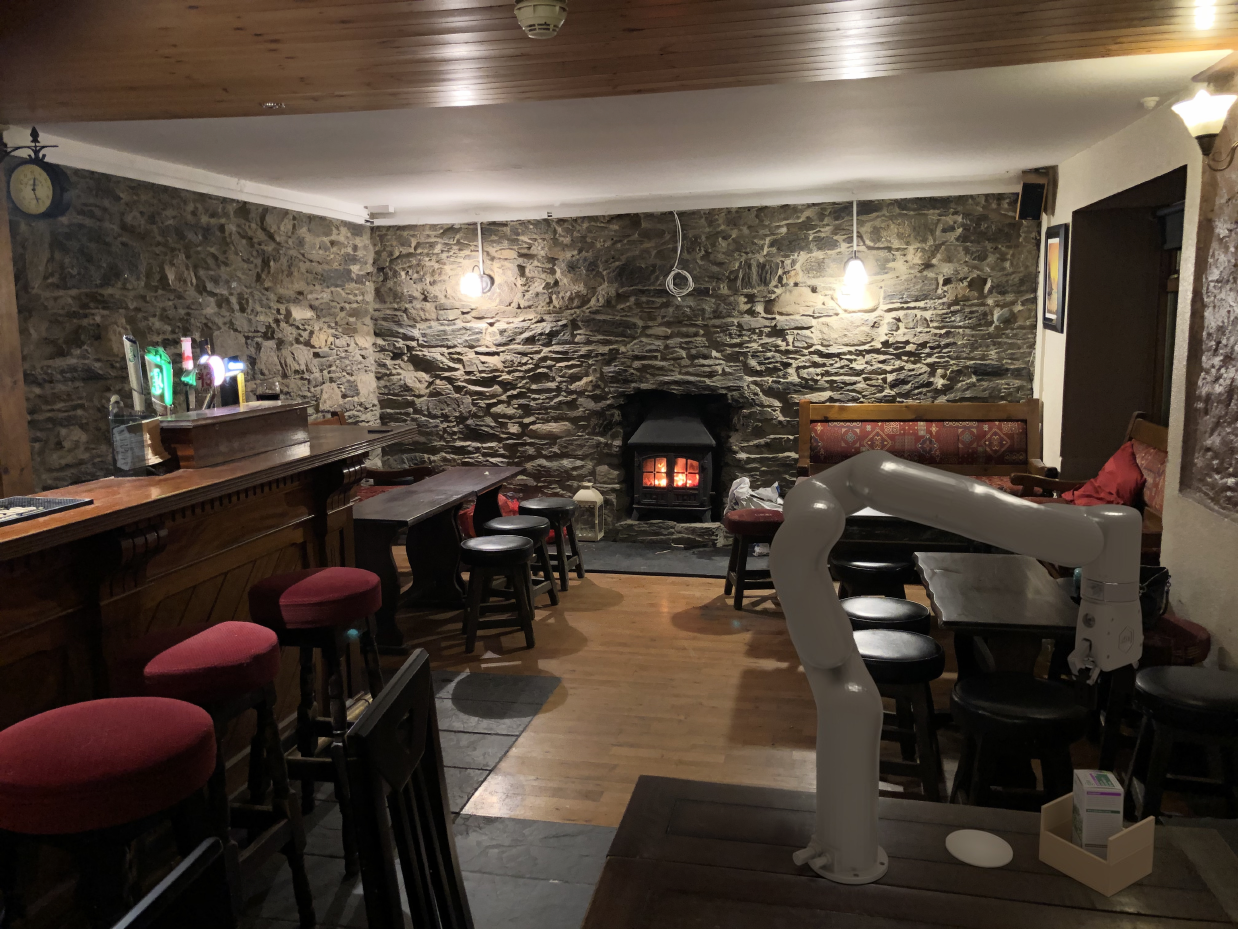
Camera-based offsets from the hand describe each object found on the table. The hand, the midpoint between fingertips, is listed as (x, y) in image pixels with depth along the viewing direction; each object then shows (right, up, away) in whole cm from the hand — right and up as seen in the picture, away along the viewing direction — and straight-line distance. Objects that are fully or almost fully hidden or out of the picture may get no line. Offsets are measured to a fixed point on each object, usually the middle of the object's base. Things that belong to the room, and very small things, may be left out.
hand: (1104, 699), depth 133 cm
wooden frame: (+1, -27, +4) cm, 27 cm away
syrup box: (+1, -27, +4) cm, 27 cm away
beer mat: (-15, -27, +9) cm, 32 cm away
